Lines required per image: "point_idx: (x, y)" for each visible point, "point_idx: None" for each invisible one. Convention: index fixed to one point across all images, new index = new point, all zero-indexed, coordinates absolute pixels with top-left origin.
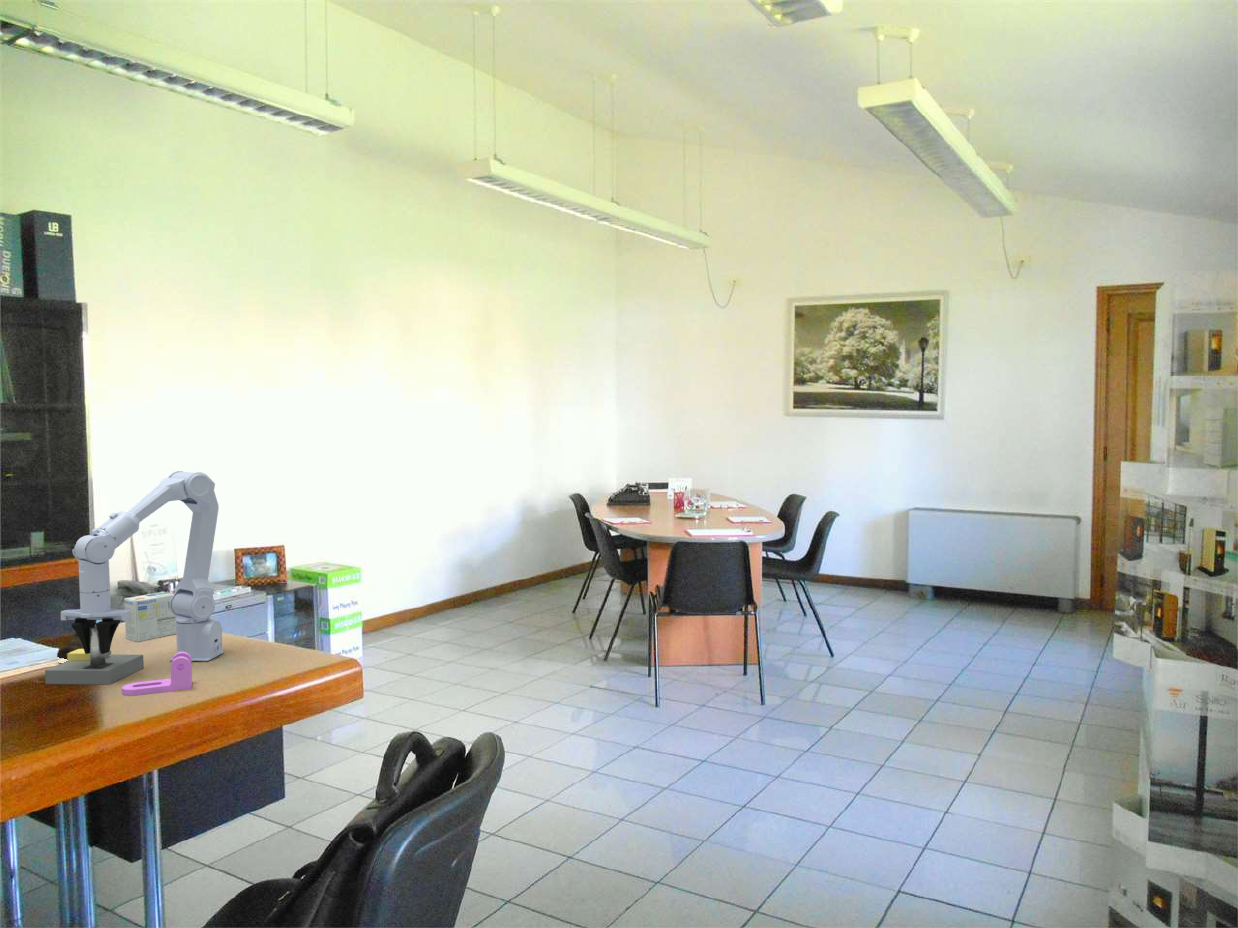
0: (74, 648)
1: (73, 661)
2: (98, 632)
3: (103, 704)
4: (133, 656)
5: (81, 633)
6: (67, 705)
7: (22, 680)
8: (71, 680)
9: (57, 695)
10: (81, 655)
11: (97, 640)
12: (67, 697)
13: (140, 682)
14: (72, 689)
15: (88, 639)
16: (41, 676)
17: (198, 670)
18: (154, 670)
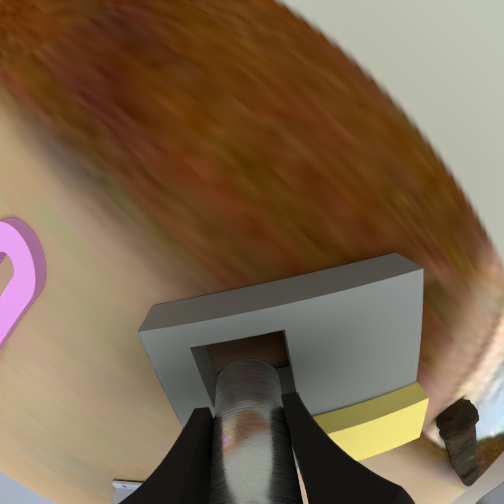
0: (450, 441)
1: (392, 384)
2: (178, 495)
3: (7, 126)
4: None
5: (319, 472)
6: (93, 67)
7: (476, 265)
8: (303, 280)
9: (228, 138)
10: (375, 412)
11: (221, 459)
12: (165, 129)
13: (22, 298)
14: (237, 220)
15: (298, 459)
16: (453, 312)
17: (64, 434)
18: (160, 435)
